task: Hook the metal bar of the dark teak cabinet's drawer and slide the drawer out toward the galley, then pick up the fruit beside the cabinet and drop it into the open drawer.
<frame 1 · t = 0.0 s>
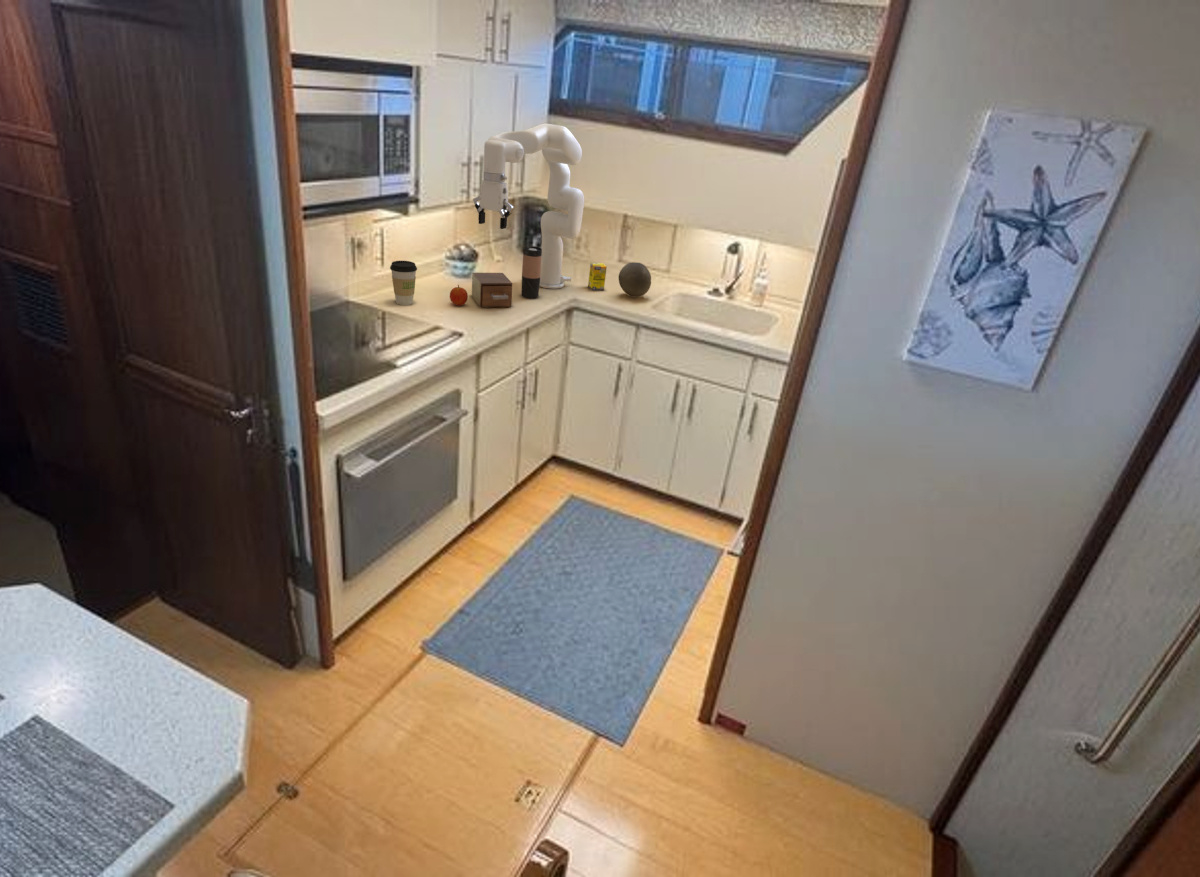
hand: (492, 226, 257), 31 cm above the counter, tool pointing down, fingers open, 9 cm apart
fruit: (458, 305, 269), on the counter
coffee cup: (404, 302, 265), on the counter
drawer: (494, 293, 272), point 5 cm above the counter, slide at 0.5 cm
travel mug: (529, 296, 289), on the counter
cabinet: (491, 301, 278), on the counter
supplement box: (595, 289, 310), on the counter
dark grey ball: (632, 297, 305), on the counter
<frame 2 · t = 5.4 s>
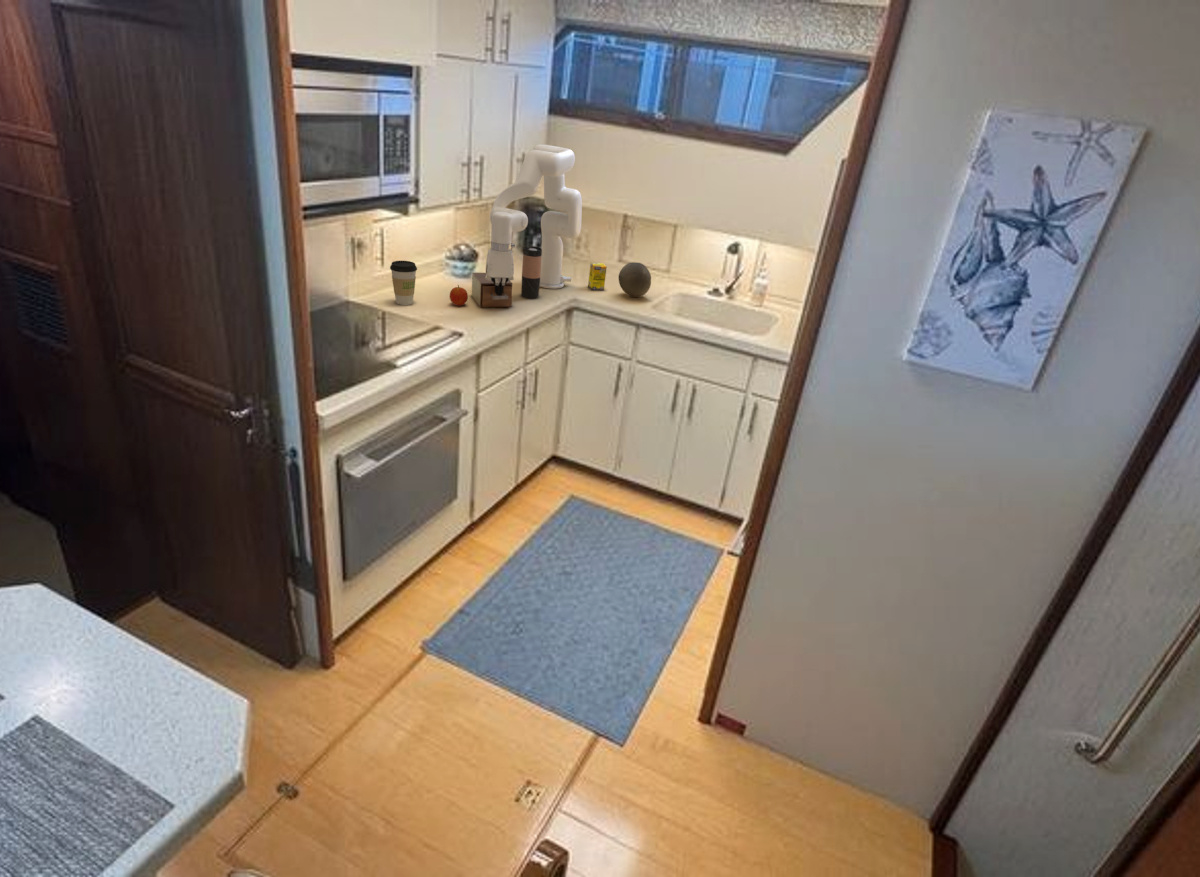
hand: (498, 294, 265), 6 cm above the counter, tool pointing down, fingers closed
drawer: (494, 293, 272), point 5 cm above the counter, slide at 0.7 cm, touching gripper
everything else where it was.
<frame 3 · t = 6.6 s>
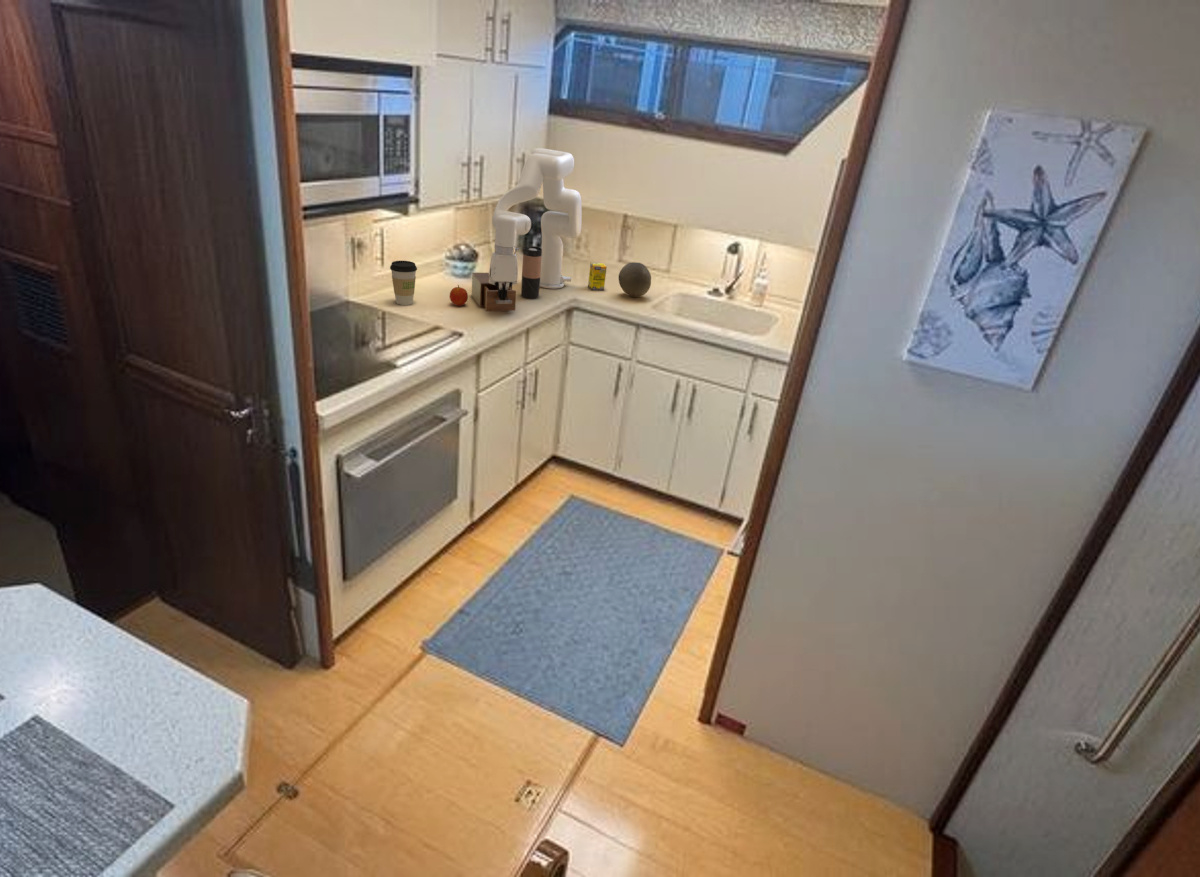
hand: (502, 299, 261), 6 cm above the counter, tool pointing down, fingers closed
drawer: (498, 297, 267), point 5 cm above the counter, slide at 6.1 cm, touching gripper
everything else where it was.
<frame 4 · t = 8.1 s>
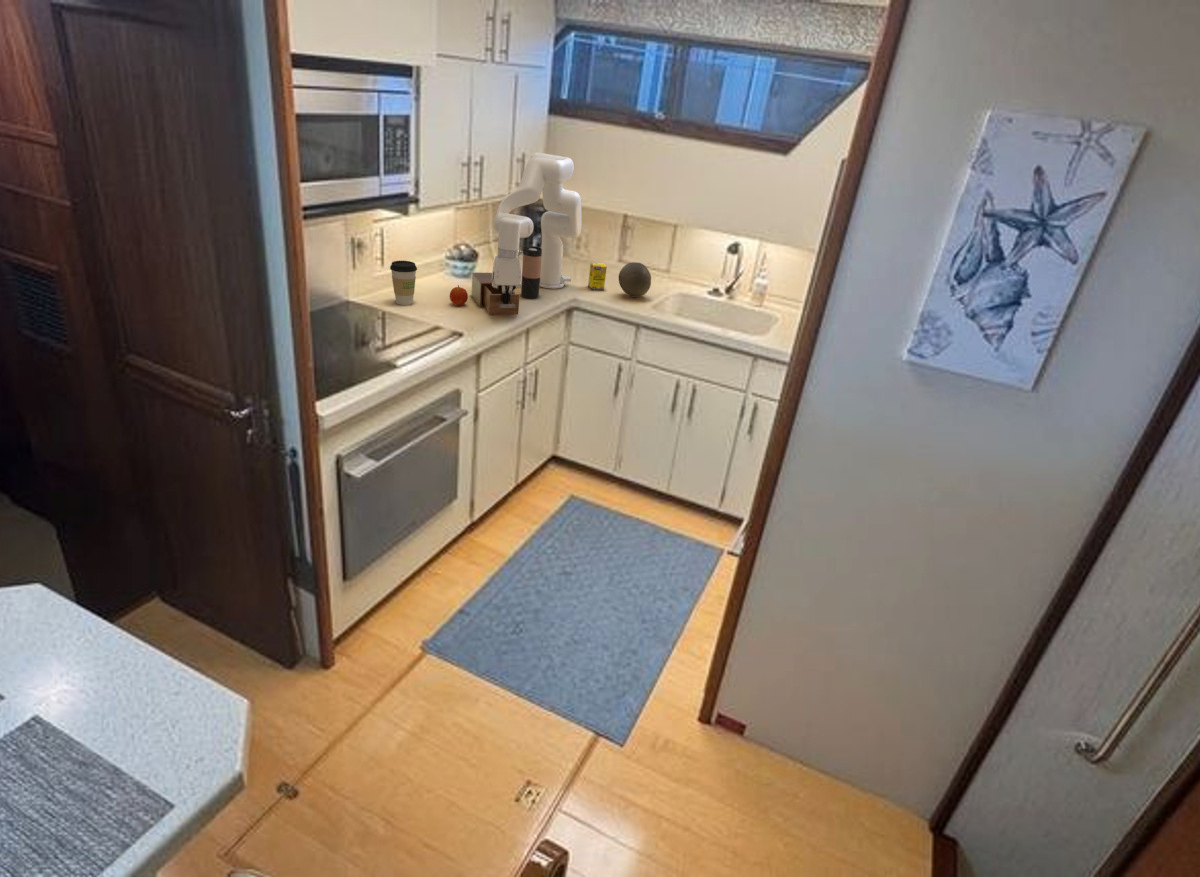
hand: (505, 303, 257), 6 cm above the counter, tool pointing down, fingers closed
drawer: (501, 301, 264), point 5 cm above the counter, slide at 10.8 cm, touching gripper
everything else where it was.
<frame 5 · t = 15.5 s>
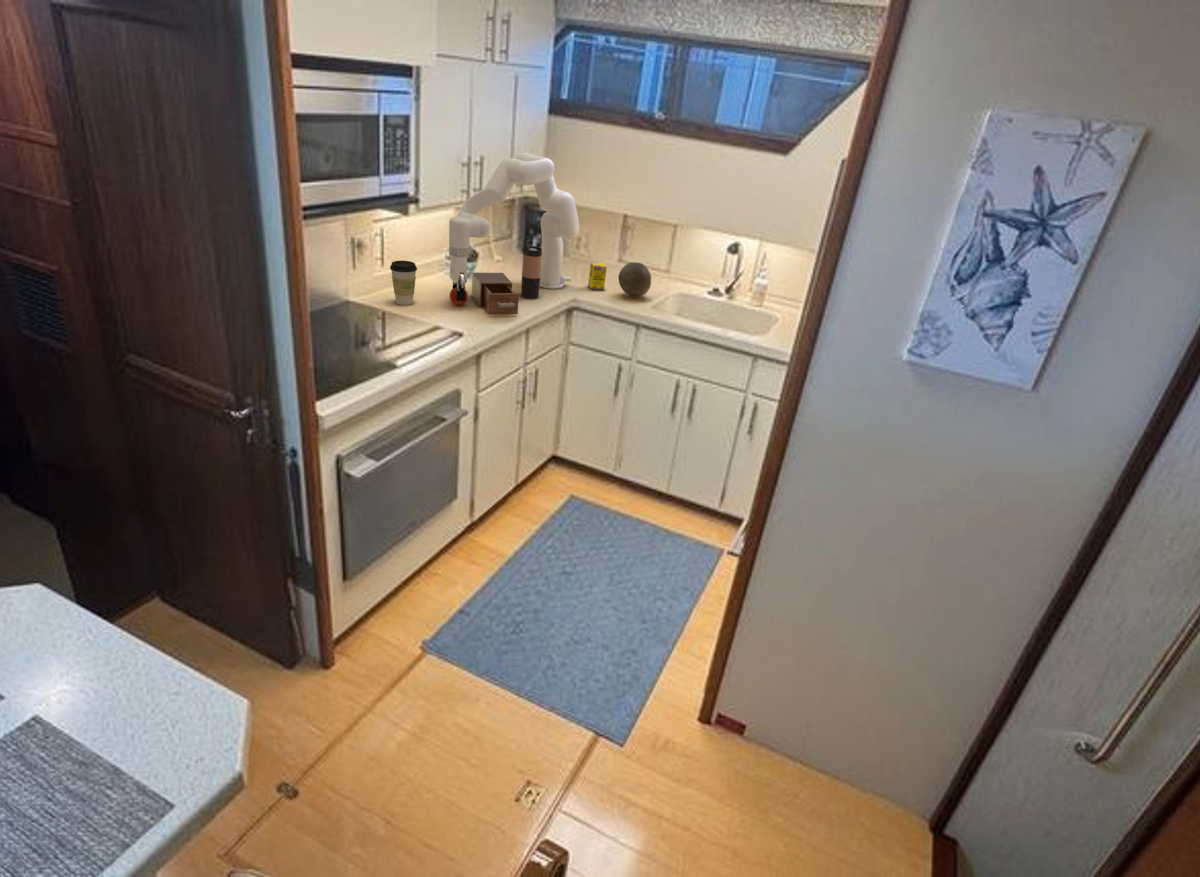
hand: (458, 297, 268), 3 cm above the counter, tool pointing down, fingers closed on fruit, 7 cm apart
fruit: (458, 305, 269), on the counter, touching gripper
drawer: (500, 300, 264), point 5 cm above the counter, slide at 9.9 cm
everything else where it was.
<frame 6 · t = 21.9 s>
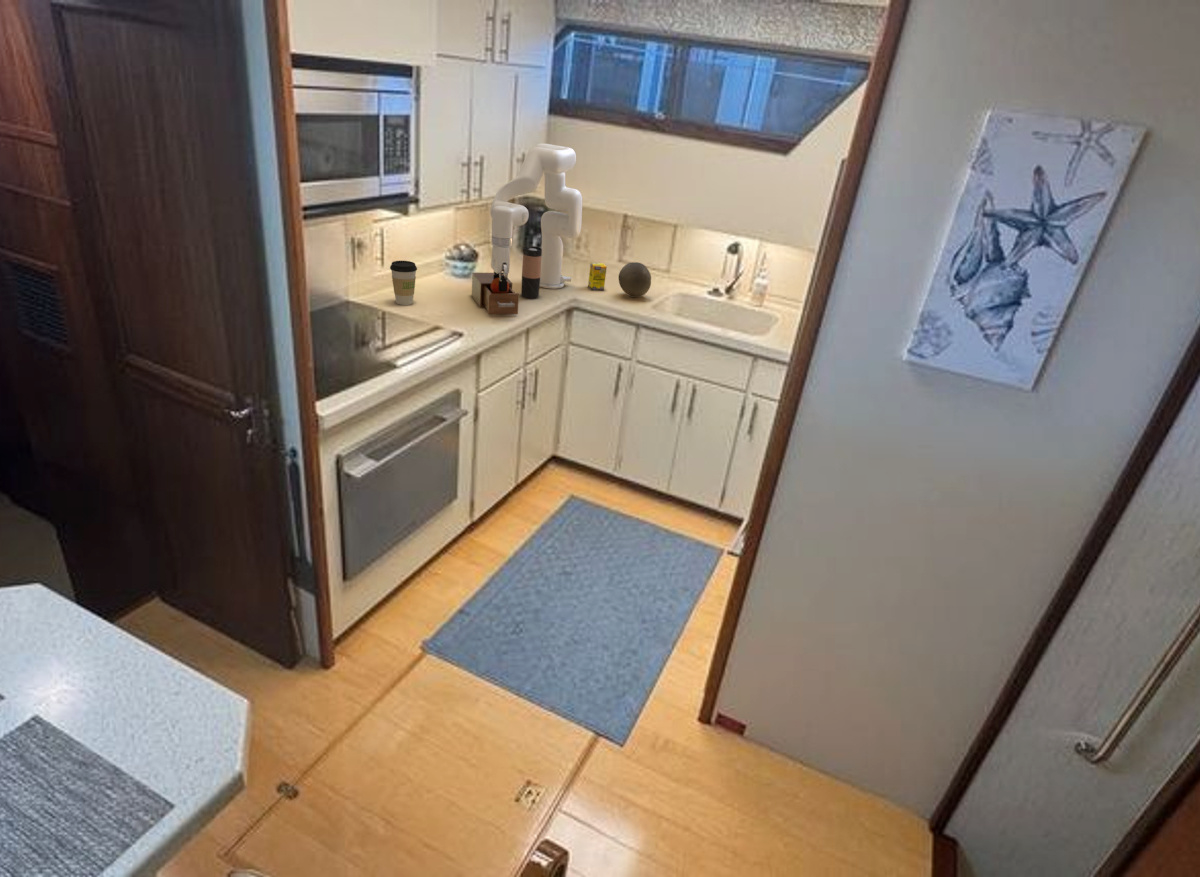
hand: (500, 287, 264), 9 cm above the counter, tool pointing down, fingers closed on fruit, 7 cm apart
fruit: (499, 296, 265), point 6 cm above the counter, touching gripper
everything else where it was.
when the fingers open (11 cm above the counter, at t = 37.6 s): fruit drops 6 cm, point 2 cm above the counter.
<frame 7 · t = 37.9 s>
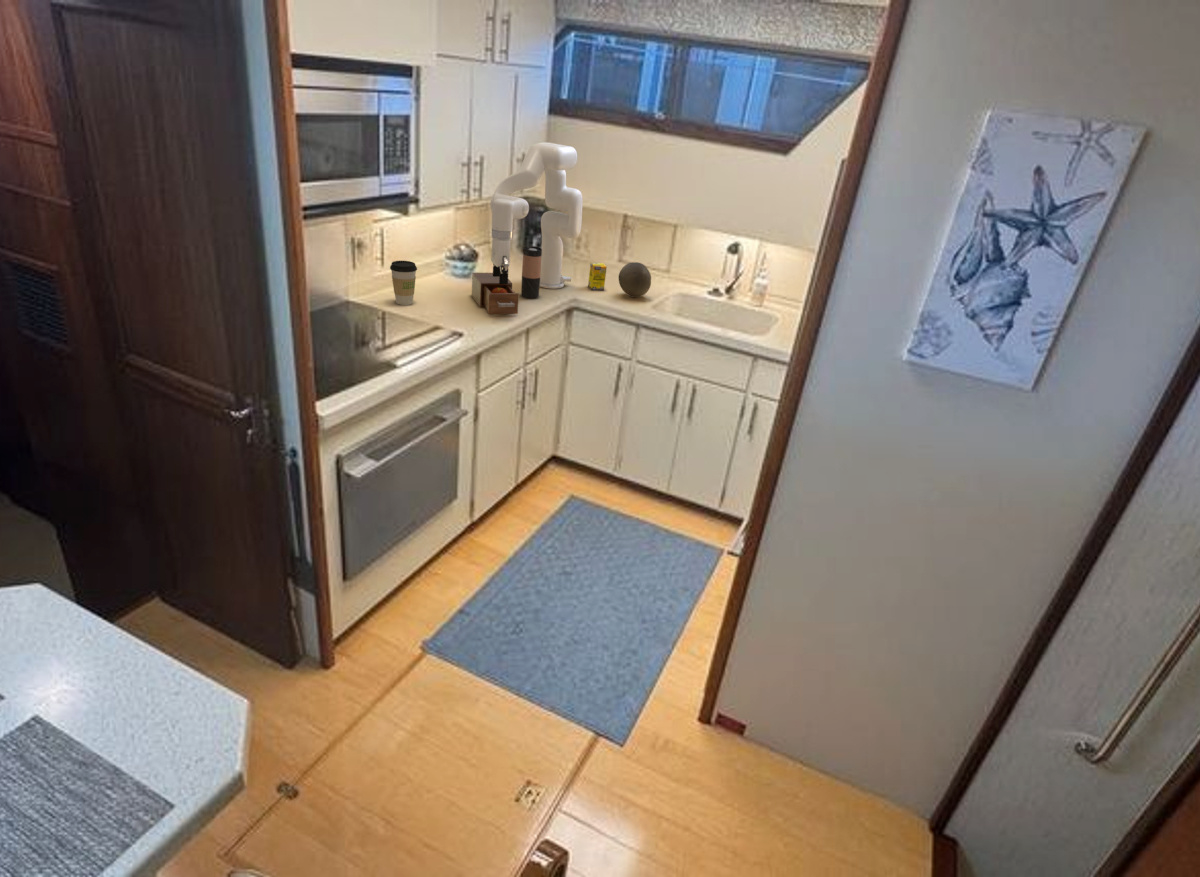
hand: (500, 280, 262), 12 cm above the counter, tool pointing down, fingers open, 9 cm apart
fruit: (498, 306, 268), point 2 cm above the counter
everything else where it was.
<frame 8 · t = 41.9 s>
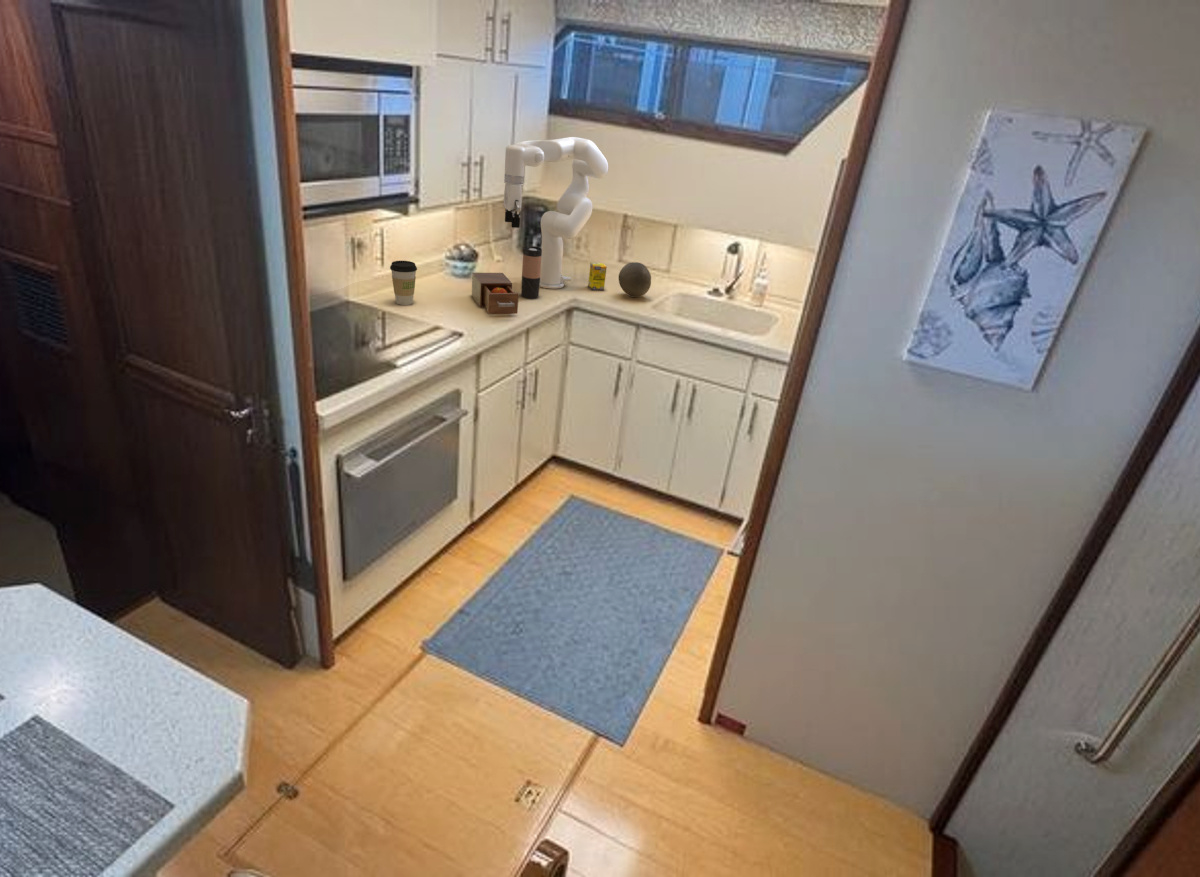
hand: (512, 224, 276), 28 cm above the counter, tool pointing down, fingers open, 9 cm apart
fruit: (498, 305, 268), point 2 cm above the counter, touching drawer
drawer: (500, 300, 265), point 5 cm above the counter, slide at 9.5 cm, touching fruit
everything else where it was.
at the end: drawer slide at 9.5 cm; fruit inside the target area in the drawer (0.7 cm from its centre), point 1.8 cm above the cabinet's base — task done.
